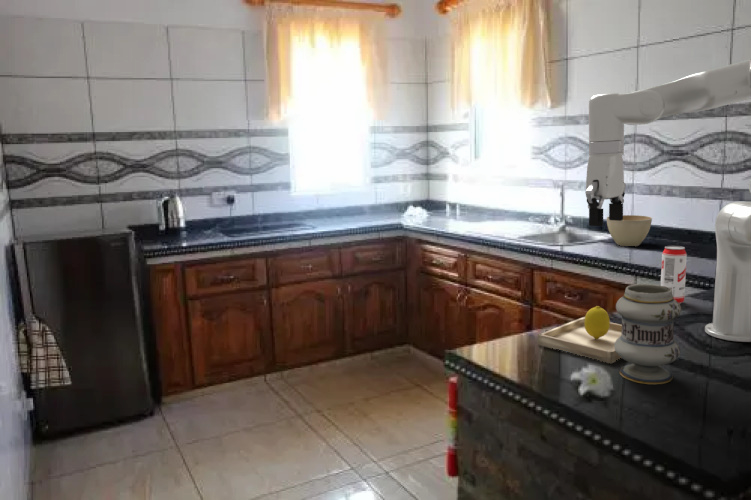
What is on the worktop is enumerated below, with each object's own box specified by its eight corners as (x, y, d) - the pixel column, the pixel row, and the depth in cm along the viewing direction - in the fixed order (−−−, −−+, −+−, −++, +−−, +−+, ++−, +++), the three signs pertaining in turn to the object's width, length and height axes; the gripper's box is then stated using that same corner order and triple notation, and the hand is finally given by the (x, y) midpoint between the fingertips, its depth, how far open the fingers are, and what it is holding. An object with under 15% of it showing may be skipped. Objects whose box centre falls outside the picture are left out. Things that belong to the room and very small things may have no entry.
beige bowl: (619, 240, 282) (620, 214, 280) (658, 244, 268) (659, 216, 266) (597, 245, 271) (598, 218, 269) (637, 250, 257) (638, 221, 255)
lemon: (603, 335, 147) (604, 302, 146) (612, 342, 142) (614, 308, 140) (580, 335, 147) (581, 303, 145) (589, 343, 141) (590, 309, 140)
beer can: (656, 303, 177) (659, 247, 174) (664, 298, 181) (666, 244, 179) (679, 306, 173) (683, 250, 170) (687, 301, 177) (690, 246, 174)
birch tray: (583, 326, 158) (583, 316, 157) (654, 341, 144) (654, 331, 144) (538, 344, 145) (538, 334, 144) (610, 363, 131) (611, 352, 131)
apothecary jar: (614, 361, 132) (617, 279, 129) (676, 368, 128) (681, 283, 125) (612, 382, 121) (615, 293, 118) (680, 390, 117) (685, 297, 114)
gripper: (608, 147, 151) (608, 217, 154) (572, 151, 139) (572, 227, 142) (639, 146, 145) (638, 219, 148) (603, 150, 134) (603, 229, 137)
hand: (606, 223), depth 145 cm, fingers open, 9 cm apart
